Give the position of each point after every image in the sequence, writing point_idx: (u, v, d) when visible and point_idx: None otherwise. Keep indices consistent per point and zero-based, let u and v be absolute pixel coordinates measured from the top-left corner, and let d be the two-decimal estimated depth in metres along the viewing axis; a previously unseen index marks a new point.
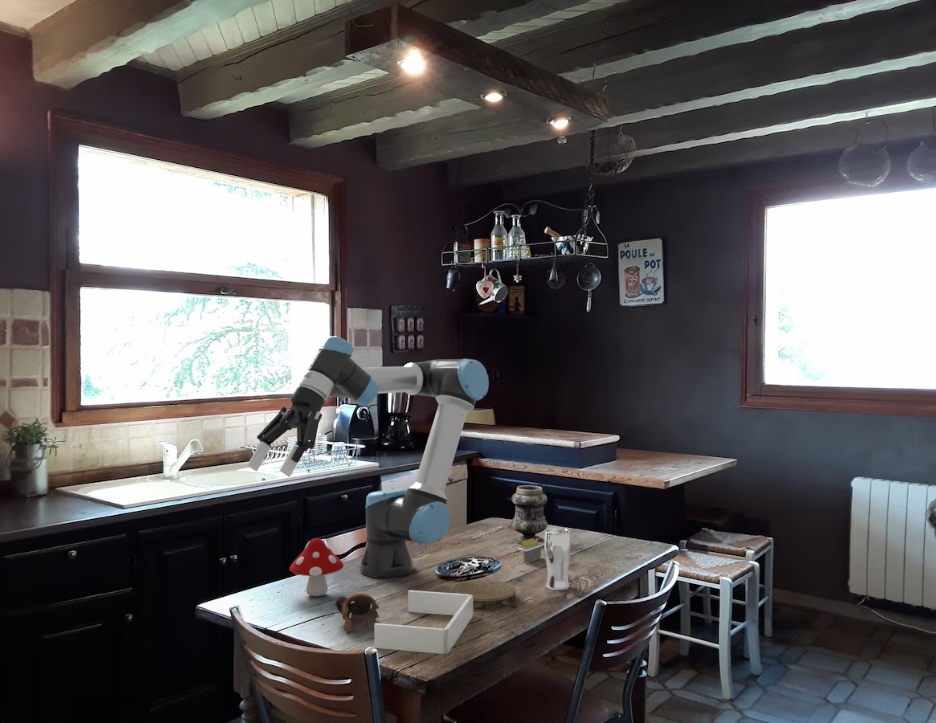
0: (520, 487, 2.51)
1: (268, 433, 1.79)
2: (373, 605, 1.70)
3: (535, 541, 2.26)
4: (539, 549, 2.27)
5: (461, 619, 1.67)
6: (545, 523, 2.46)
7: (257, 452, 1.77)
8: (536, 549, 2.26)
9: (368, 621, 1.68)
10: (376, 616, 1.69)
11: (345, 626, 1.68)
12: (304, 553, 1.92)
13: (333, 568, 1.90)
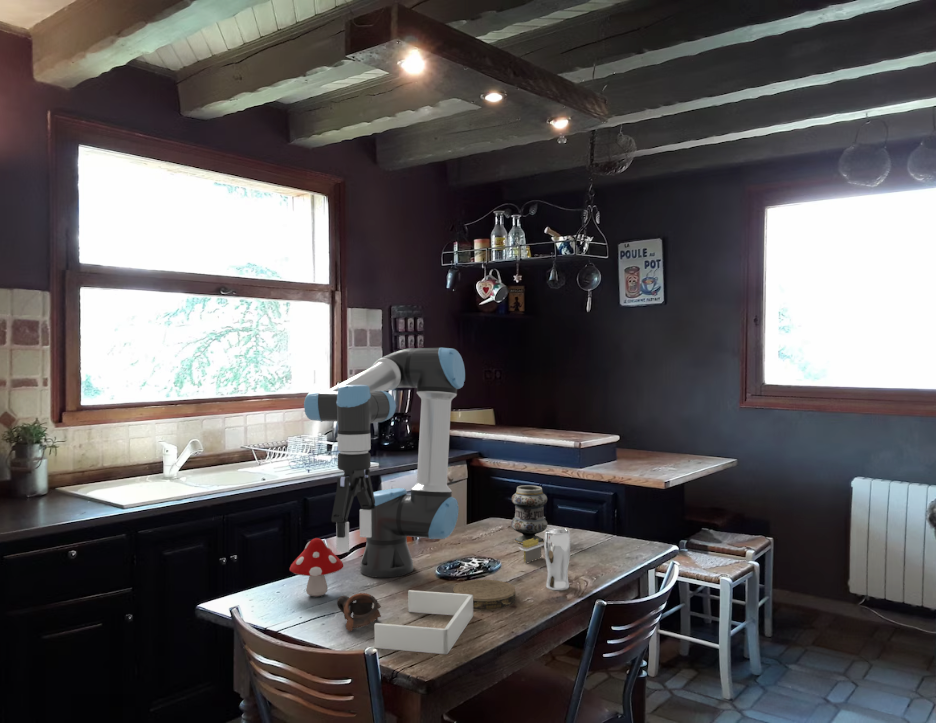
0: (520, 487, 2.51)
1: None
2: (375, 604, 1.70)
3: (535, 541, 2.26)
4: (539, 549, 2.28)
5: (461, 619, 1.67)
6: (545, 523, 2.46)
7: (360, 521, 1.79)
8: (536, 549, 2.26)
9: (370, 620, 1.68)
10: (378, 615, 1.70)
11: (347, 625, 1.68)
12: (304, 553, 1.92)
13: (333, 568, 1.90)
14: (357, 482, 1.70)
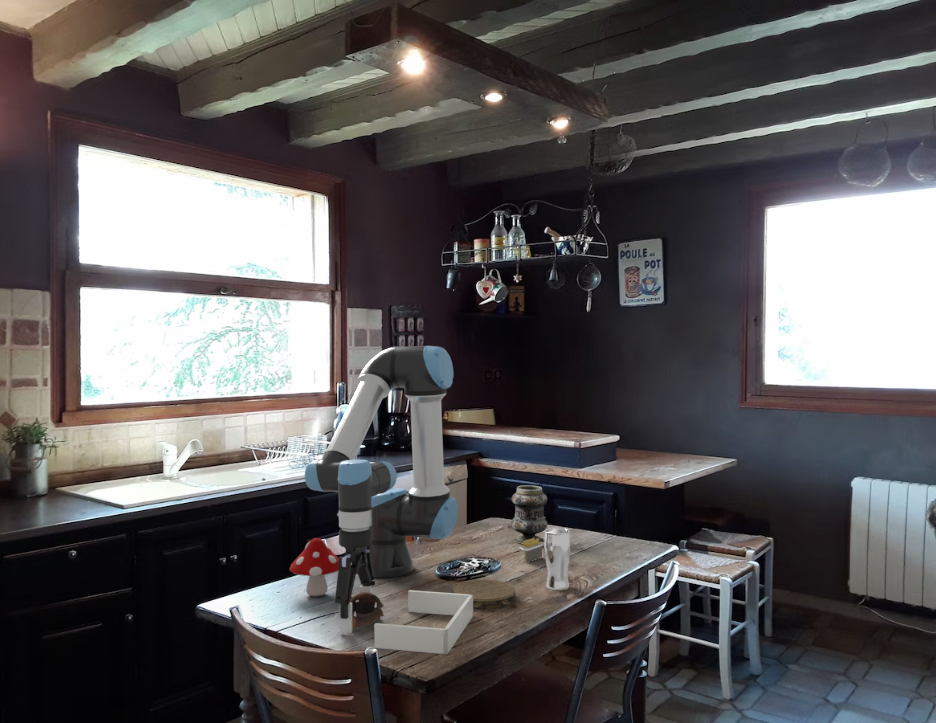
0: (520, 487, 2.51)
1: None
2: (378, 604, 1.71)
3: (536, 540, 2.26)
4: (540, 549, 2.28)
5: (461, 619, 1.67)
6: (545, 523, 2.46)
7: None
8: (537, 549, 2.27)
9: (373, 620, 1.69)
10: (381, 615, 1.70)
11: None
12: (304, 553, 1.92)
13: (333, 568, 1.90)
14: (358, 559, 1.70)
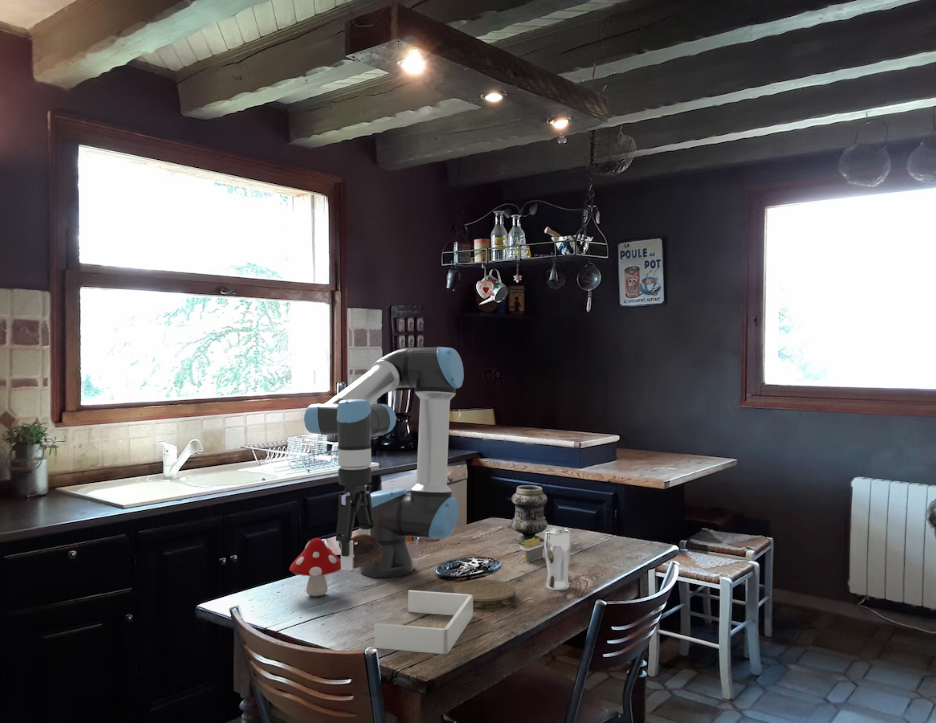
0: (520, 487, 2.51)
1: None
2: (376, 545, 1.70)
3: (537, 540, 2.27)
4: (541, 548, 2.28)
5: (461, 619, 1.67)
6: (545, 523, 2.46)
7: None
8: (538, 548, 2.27)
9: (371, 560, 1.68)
10: (379, 556, 1.70)
11: None
12: (304, 553, 1.92)
13: (333, 568, 1.90)
14: (358, 498, 1.70)
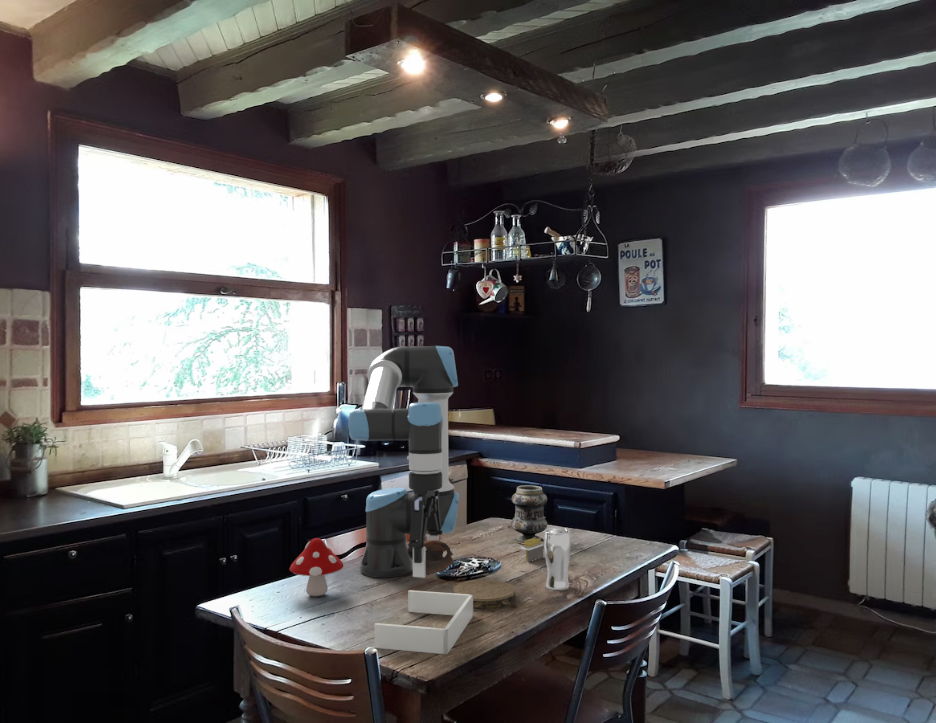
0: (520, 487, 2.51)
1: None
2: (448, 551, 1.66)
3: (537, 540, 2.27)
4: (542, 548, 2.28)
5: (461, 619, 1.67)
6: (545, 523, 2.46)
7: None
8: (539, 548, 2.27)
9: (444, 567, 1.64)
10: (451, 562, 1.65)
11: None
12: (304, 553, 1.92)
13: (333, 568, 1.90)
14: (430, 503, 1.66)
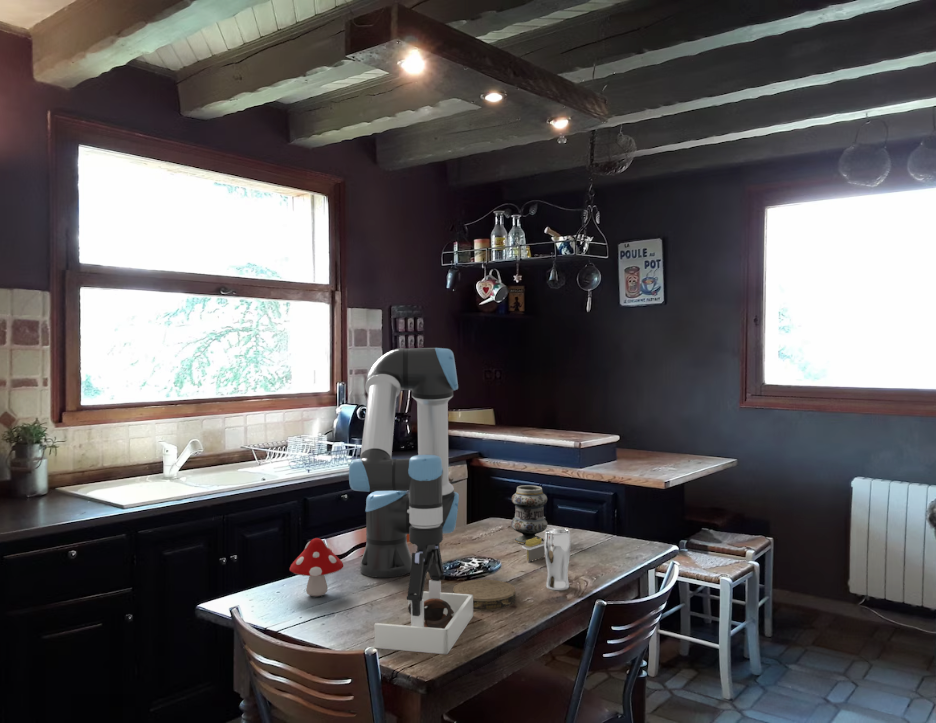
0: (520, 487, 2.51)
1: None
2: (449, 610, 1.66)
3: (539, 540, 2.27)
4: (543, 548, 2.29)
5: (461, 619, 1.67)
6: (545, 523, 2.46)
7: (430, 593, 1.75)
8: (540, 548, 2.27)
9: None
10: None
11: None
12: (304, 553, 1.92)
13: (333, 568, 1.90)
14: (430, 557, 1.66)
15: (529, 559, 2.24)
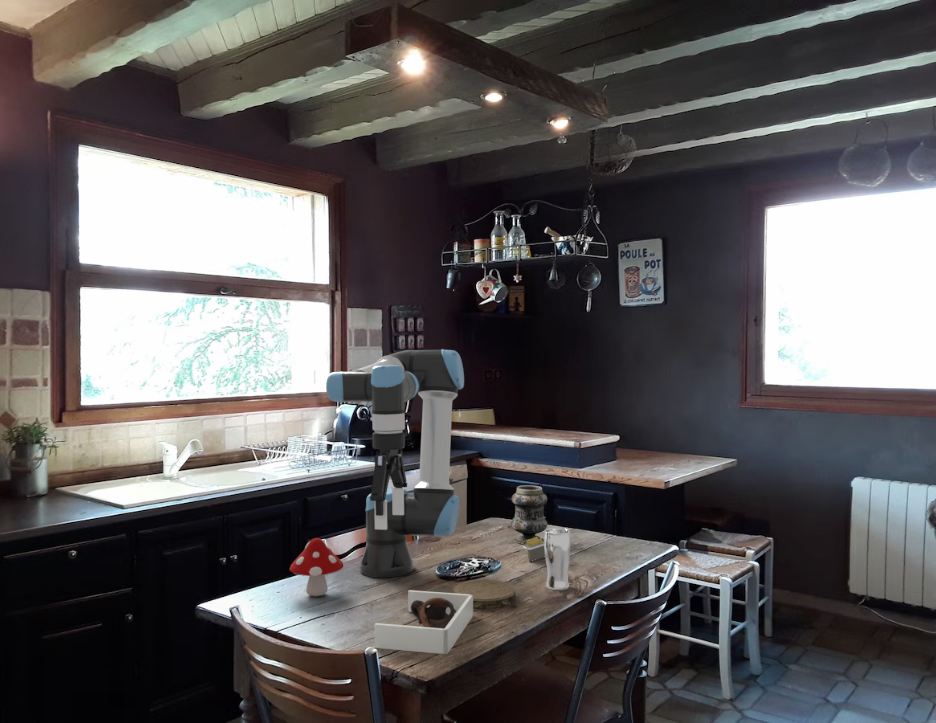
0: (520, 487, 2.51)
1: None
2: (452, 609, 1.66)
3: (539, 539, 2.28)
4: (543, 548, 2.29)
5: (461, 619, 1.67)
6: (545, 523, 2.46)
7: (393, 499, 1.81)
8: (540, 548, 2.28)
9: None
10: None
11: None
12: (304, 553, 1.92)
13: (333, 568, 1.90)
14: (393, 461, 1.72)
15: (530, 559, 2.24)
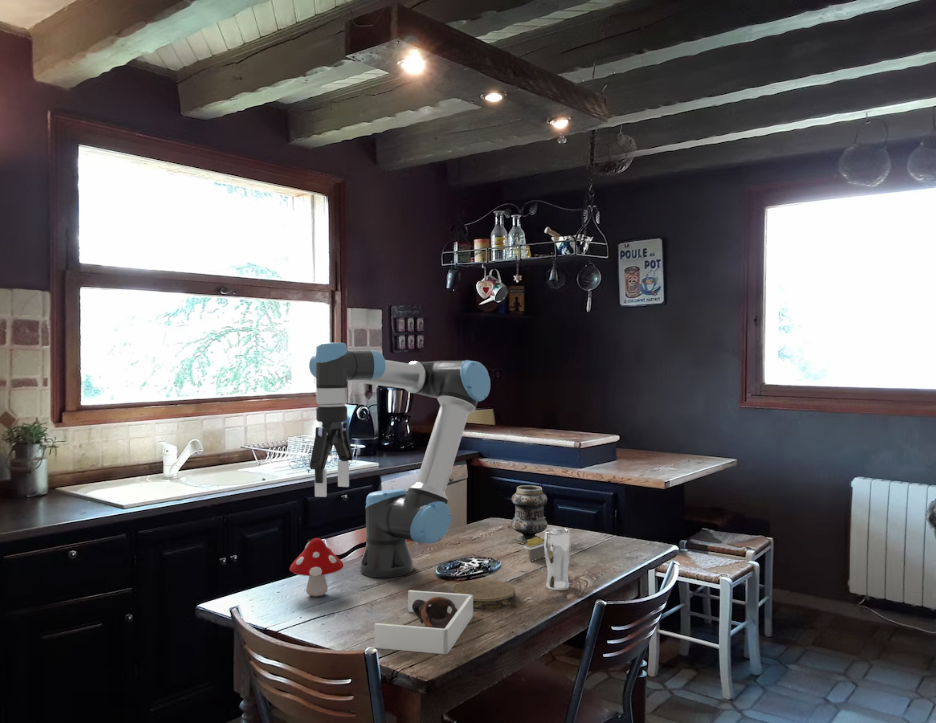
0: (520, 487, 2.51)
1: None
2: (453, 608, 1.67)
3: (540, 539, 2.28)
4: None
5: (461, 619, 1.67)
6: (545, 523, 2.46)
7: (338, 472, 1.91)
8: (541, 547, 2.28)
9: None
10: None
11: None
12: (304, 553, 1.92)
13: (333, 568, 1.90)
14: (334, 433, 1.82)
15: (530, 559, 2.24)
